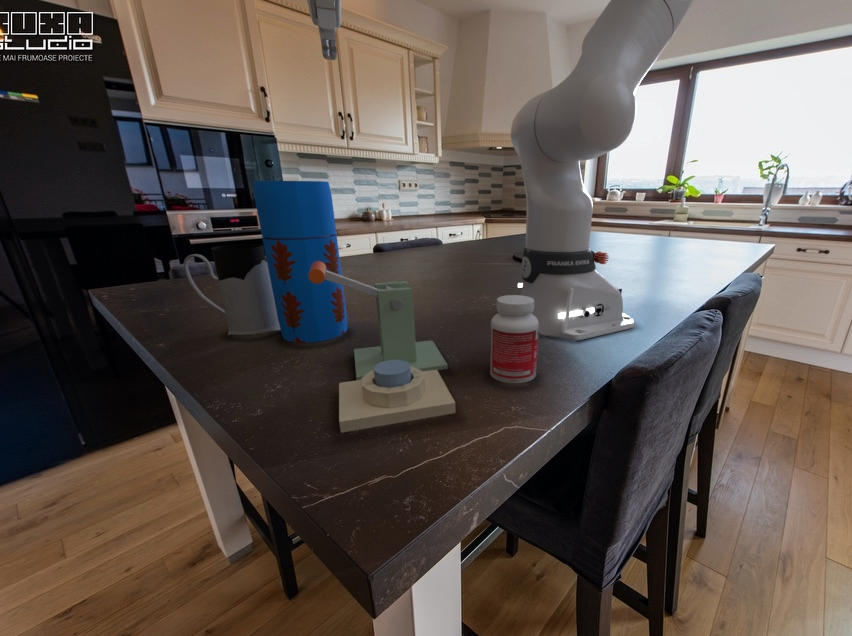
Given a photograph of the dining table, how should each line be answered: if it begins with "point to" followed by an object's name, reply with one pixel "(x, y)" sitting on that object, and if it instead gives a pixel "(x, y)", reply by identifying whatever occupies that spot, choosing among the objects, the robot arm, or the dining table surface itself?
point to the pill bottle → (514, 340)
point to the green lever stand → (397, 334)
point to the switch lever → (339, 279)
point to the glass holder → (242, 288)
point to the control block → (392, 401)
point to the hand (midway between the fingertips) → (329, 46)
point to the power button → (392, 373)
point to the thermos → (301, 257)
